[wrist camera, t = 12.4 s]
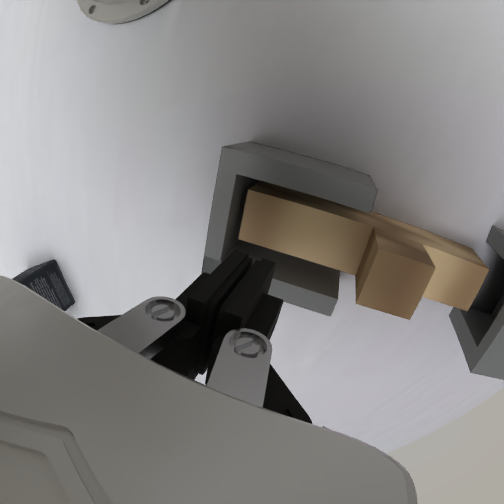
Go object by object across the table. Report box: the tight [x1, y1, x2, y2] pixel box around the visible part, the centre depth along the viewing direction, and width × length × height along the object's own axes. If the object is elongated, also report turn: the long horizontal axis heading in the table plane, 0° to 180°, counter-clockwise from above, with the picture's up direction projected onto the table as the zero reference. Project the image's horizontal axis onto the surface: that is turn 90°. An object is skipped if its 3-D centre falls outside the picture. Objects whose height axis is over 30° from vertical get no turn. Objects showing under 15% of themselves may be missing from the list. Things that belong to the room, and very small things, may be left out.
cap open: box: [202, 142, 378, 316], centre depth 18 cm, size 8×7×4 cm
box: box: [12, 260, 75, 311], centre depth 26 cm, size 8×6×11 cm
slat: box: [238, 181, 489, 320], centre depth 16 cm, size 15×3×6 cm, turn 78°
